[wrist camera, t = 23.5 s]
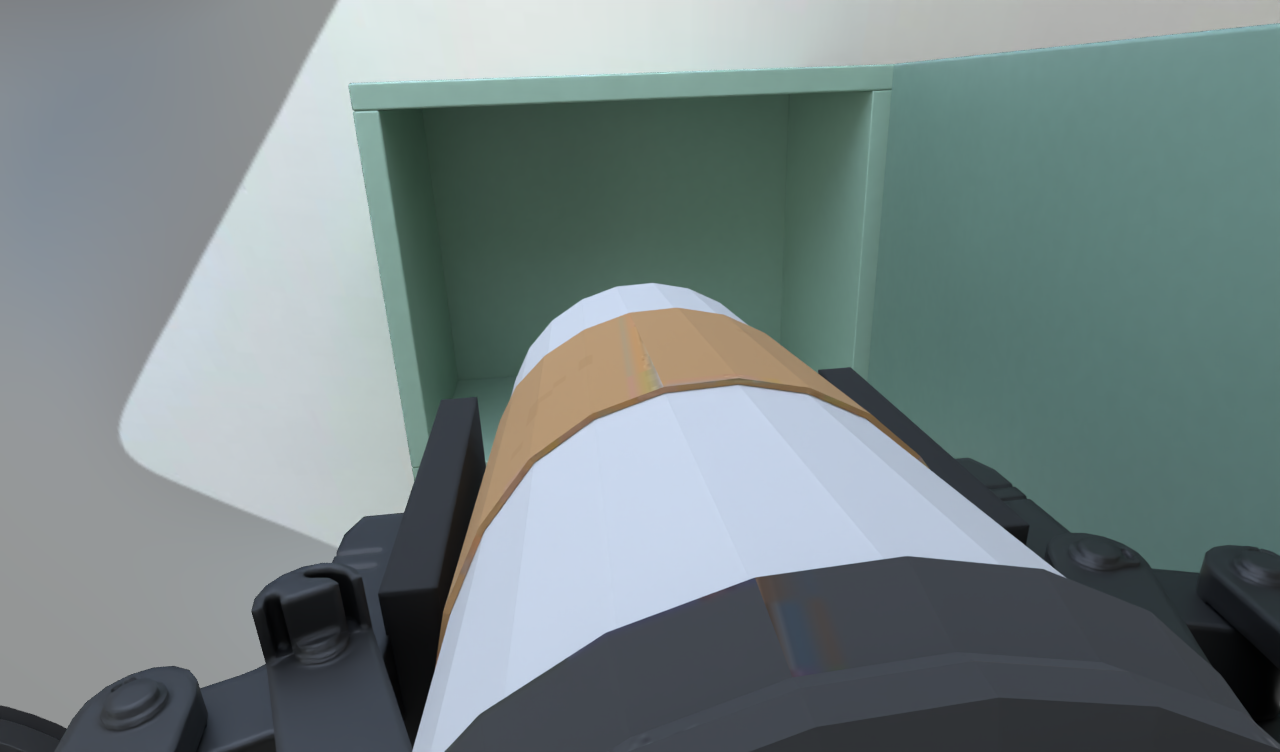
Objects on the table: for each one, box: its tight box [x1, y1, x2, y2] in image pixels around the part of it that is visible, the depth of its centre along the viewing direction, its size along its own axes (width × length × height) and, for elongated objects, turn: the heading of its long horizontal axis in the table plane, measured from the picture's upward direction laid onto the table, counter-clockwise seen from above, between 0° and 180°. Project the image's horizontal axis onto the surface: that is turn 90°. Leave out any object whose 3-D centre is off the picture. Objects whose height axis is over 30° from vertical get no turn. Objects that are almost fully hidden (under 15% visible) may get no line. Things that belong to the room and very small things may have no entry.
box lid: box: [867, 23, 1280, 573], centre depth 20 cm, size 21×16×10 cm
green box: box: [349, 64, 895, 481], centre depth 34 cm, size 20×16×11 cm
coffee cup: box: [412, 283, 1280, 752], centre depth 11 cm, size 8×8×15 cm
